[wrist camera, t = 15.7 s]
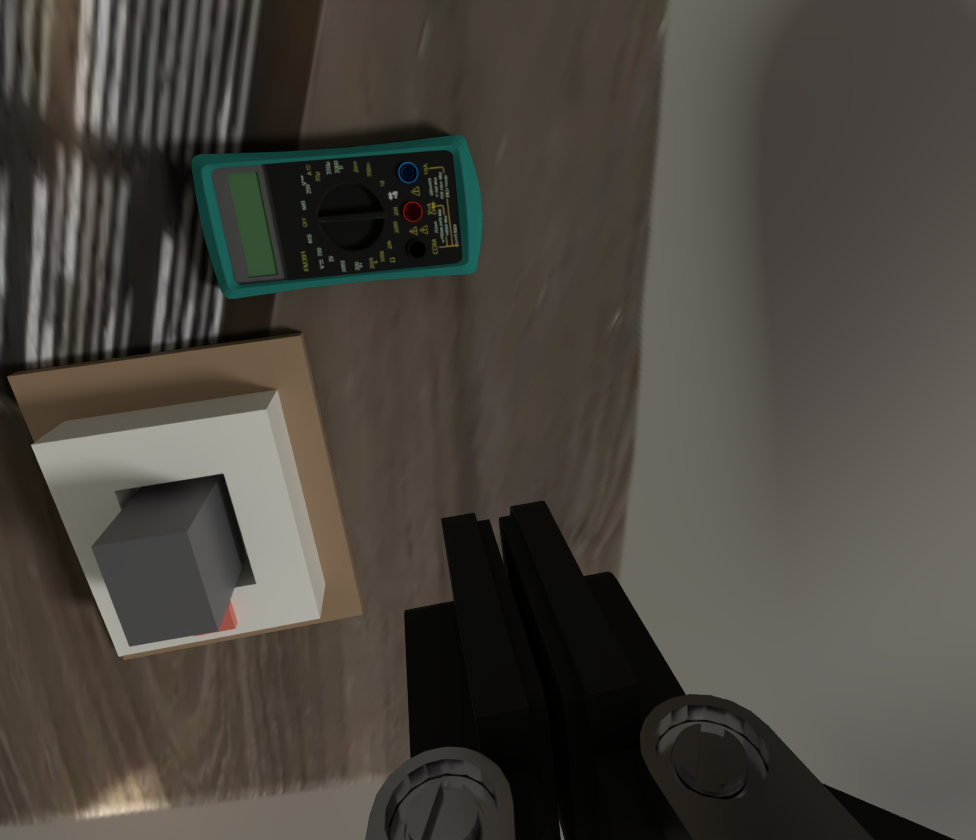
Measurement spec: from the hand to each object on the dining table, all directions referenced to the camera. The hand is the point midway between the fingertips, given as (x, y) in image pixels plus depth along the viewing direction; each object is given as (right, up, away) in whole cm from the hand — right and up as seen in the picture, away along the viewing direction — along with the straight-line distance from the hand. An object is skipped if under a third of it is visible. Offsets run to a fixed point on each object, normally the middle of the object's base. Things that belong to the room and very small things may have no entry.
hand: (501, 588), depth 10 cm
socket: (-18, -3, +29) cm, 35 cm away
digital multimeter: (-8, +15, +25) cm, 30 cm away
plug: (-18, -3, +28) cm, 34 cm away
